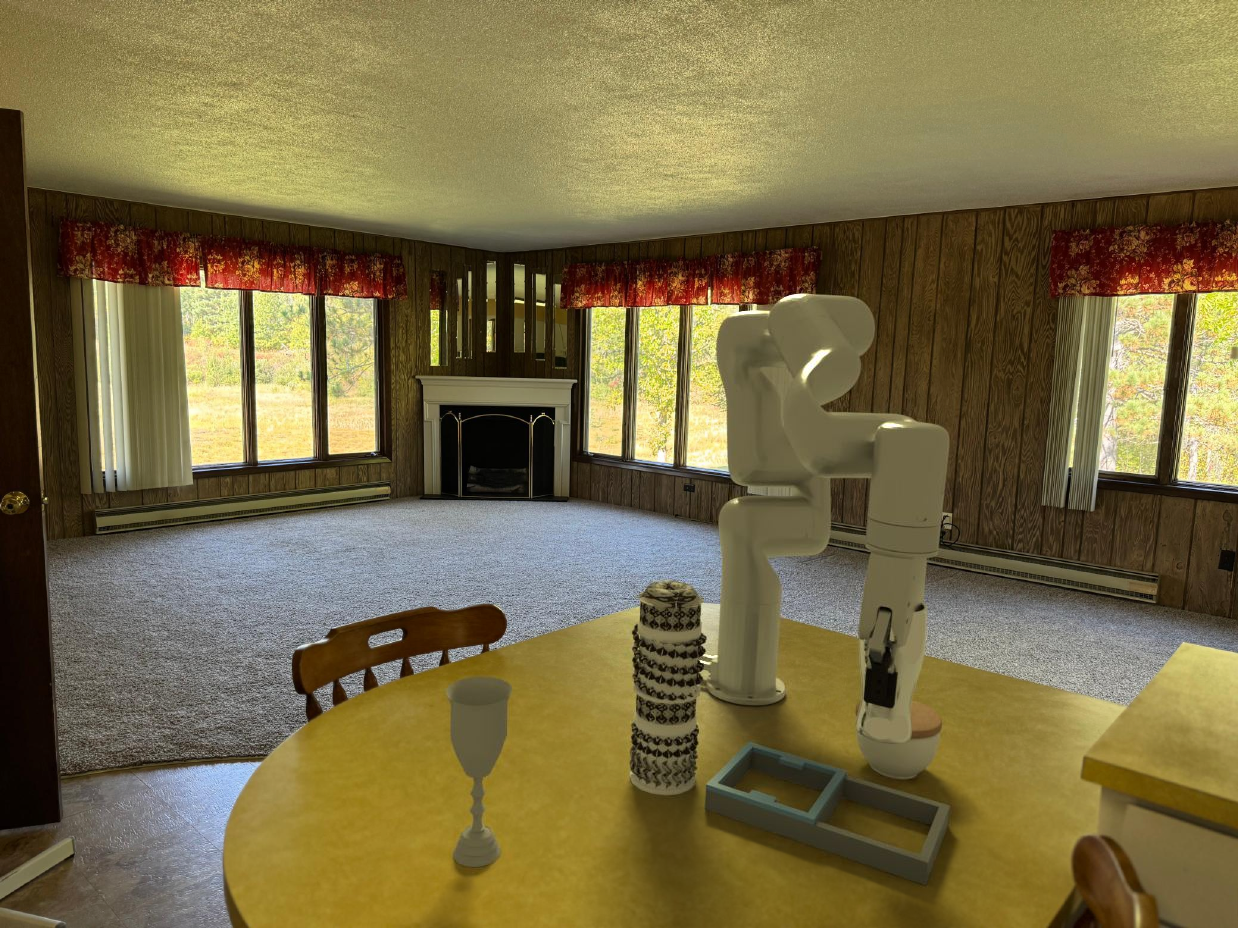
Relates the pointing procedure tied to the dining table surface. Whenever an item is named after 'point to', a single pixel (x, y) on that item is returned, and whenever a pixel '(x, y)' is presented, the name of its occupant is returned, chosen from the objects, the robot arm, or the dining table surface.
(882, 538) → the robot arm
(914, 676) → the beer glass
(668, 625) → the decorative candle
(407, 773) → the dining table surface
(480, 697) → the chalice
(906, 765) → the lidded jar
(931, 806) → the slot frame
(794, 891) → the dining table surface
